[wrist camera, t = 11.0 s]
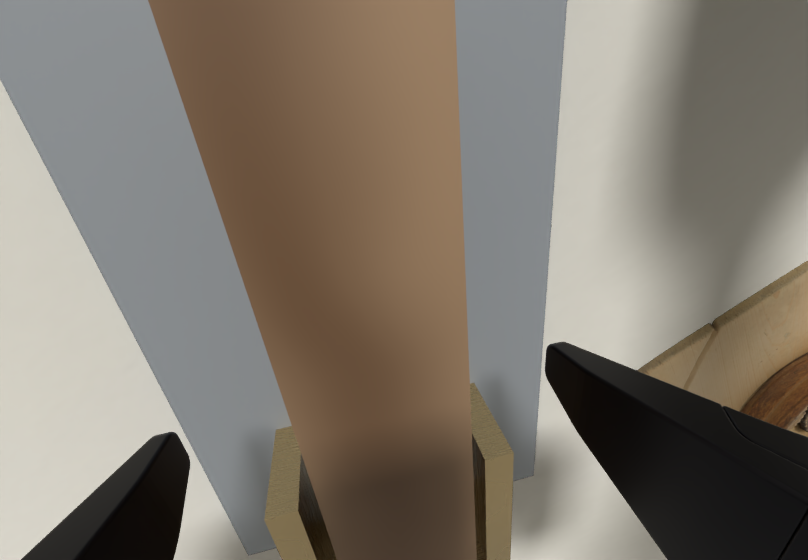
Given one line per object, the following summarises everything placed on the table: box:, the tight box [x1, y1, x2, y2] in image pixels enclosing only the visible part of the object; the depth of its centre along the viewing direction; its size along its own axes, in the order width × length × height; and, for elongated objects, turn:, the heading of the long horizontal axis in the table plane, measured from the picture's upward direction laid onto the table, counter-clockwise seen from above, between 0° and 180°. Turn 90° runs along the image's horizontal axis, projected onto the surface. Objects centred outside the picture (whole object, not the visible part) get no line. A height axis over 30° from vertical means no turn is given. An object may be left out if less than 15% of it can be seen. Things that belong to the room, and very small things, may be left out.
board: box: [637, 261, 808, 437], centre depth 22 cm, size 25×15×3 cm, turn 33°
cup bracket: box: [264, 383, 514, 560], centre depth 15 cm, size 8×7×4 cm
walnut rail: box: [148, 0, 477, 560], centre depth 11 cm, size 4×18×5 cm, turn 6°
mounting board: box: [0, 0, 567, 556], centre depth 13 cm, size 14×24×1 cm, turn 6°
